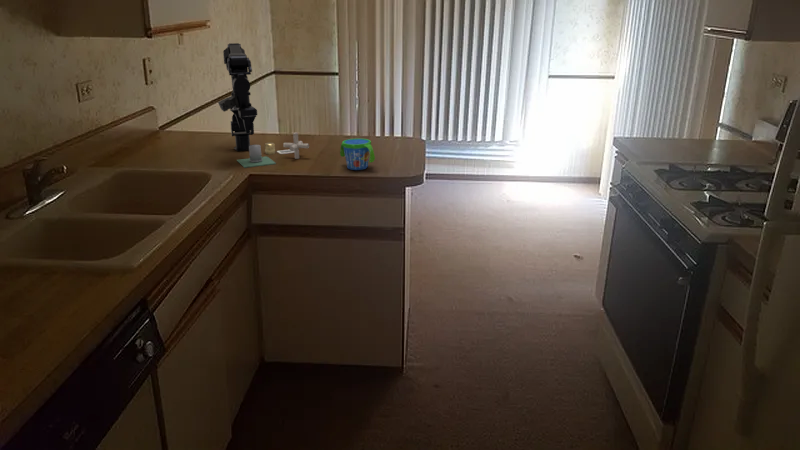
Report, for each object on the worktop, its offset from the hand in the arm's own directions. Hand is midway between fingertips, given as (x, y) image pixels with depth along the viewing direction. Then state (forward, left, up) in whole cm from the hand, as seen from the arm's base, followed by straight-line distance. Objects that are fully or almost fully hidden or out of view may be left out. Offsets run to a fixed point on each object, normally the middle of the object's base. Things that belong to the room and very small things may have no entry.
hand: (244, 130), depth 237 cm
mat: (+5, +2, -12) cm, 13 cm away
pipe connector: (+6, +18, -12) cm, 22 cm away
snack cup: (+31, +33, -12) cm, 47 cm away
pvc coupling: (+5, +2, -11) cm, 12 cm away
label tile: (-6, +18, -12) cm, 22 cm away
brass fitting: (-7, +11, -12) cm, 18 cm away
